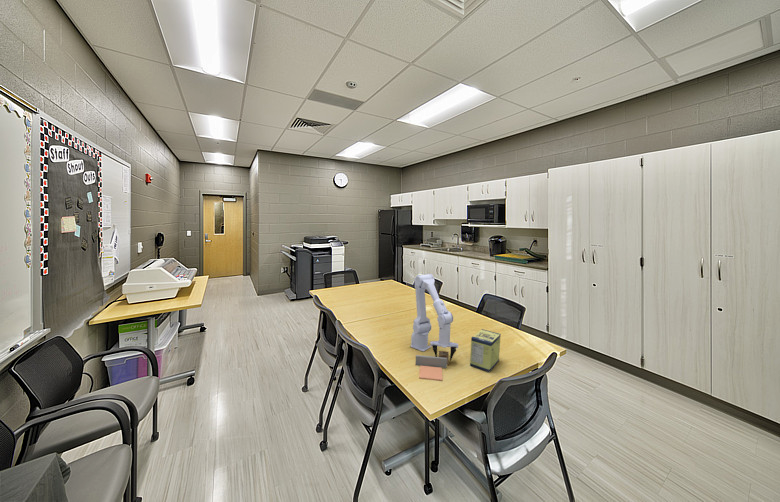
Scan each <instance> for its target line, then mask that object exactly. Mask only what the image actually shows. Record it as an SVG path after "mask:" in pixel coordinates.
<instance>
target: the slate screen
mask: <svg viewBox="0 0 780 502" xmlns="http://www.w3.org/2000/svg"><path fill="white" fill-rule="evenodd" d="M415 366H419V367H420V366H430V367H441V368H442V369H447V368H448V365H447V358H443V357H439V356H437V357H435V356H430V355H418V354H416V355H415Z"/></svg>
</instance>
